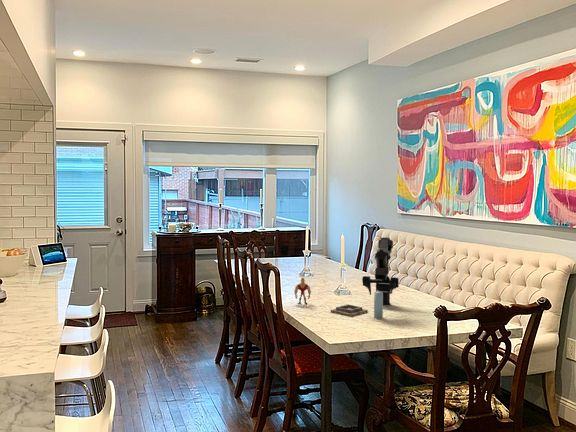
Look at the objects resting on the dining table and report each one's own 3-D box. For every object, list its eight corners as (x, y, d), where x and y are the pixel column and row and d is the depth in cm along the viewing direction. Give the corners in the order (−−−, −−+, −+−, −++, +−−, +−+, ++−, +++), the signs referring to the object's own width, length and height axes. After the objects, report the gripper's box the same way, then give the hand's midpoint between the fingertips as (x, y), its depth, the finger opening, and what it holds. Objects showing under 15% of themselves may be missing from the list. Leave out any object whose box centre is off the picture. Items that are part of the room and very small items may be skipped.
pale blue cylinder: (380, 316, 295) (381, 291, 294) (384, 318, 290) (384, 293, 290) (372, 316, 294) (373, 291, 293) (375, 318, 290) (376, 293, 289)
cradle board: (347, 308, 313) (347, 303, 313) (367, 312, 303) (367, 307, 303) (330, 312, 303) (330, 307, 303) (351, 316, 293) (351, 311, 293)
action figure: (294, 304, 323) (294, 278, 322) (294, 302, 326) (294, 276, 326) (310, 304, 323) (311, 278, 322) (310, 303, 326) (311, 277, 325)
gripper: (362, 261, 302) (360, 285, 292) (398, 262, 297) (397, 287, 287) (364, 273, 310) (361, 297, 300) (399, 275, 305) (397, 299, 295)
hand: (379, 295), depth 295 cm, fingers open, 9 cm apart
